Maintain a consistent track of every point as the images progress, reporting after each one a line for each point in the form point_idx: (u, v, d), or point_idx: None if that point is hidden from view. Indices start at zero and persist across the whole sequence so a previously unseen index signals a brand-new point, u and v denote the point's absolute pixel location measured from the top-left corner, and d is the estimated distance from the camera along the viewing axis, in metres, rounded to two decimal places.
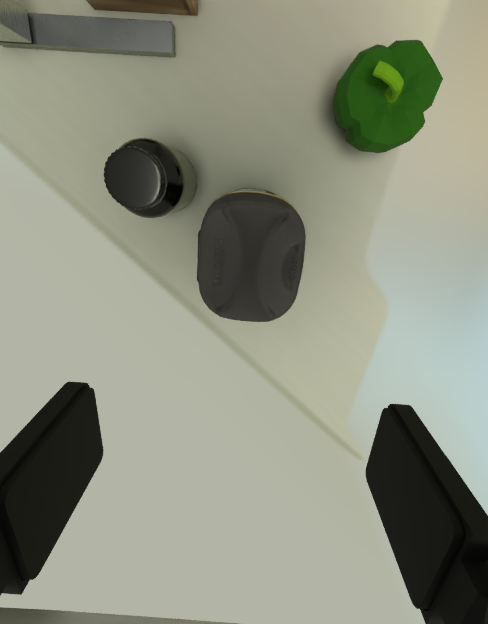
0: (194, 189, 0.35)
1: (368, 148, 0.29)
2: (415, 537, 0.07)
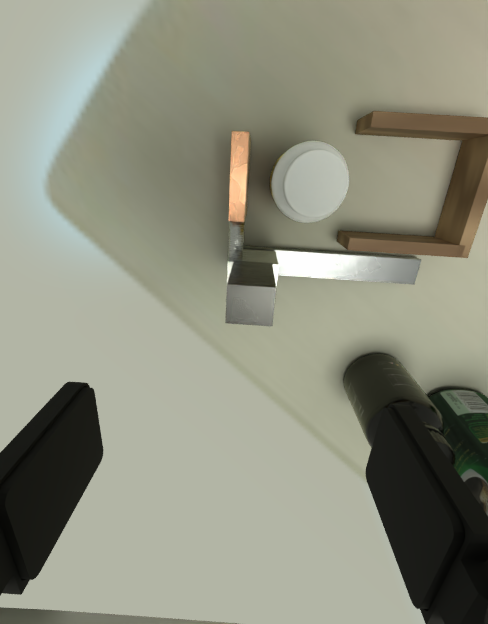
0: None
1: None
2: (415, 537, 0.07)
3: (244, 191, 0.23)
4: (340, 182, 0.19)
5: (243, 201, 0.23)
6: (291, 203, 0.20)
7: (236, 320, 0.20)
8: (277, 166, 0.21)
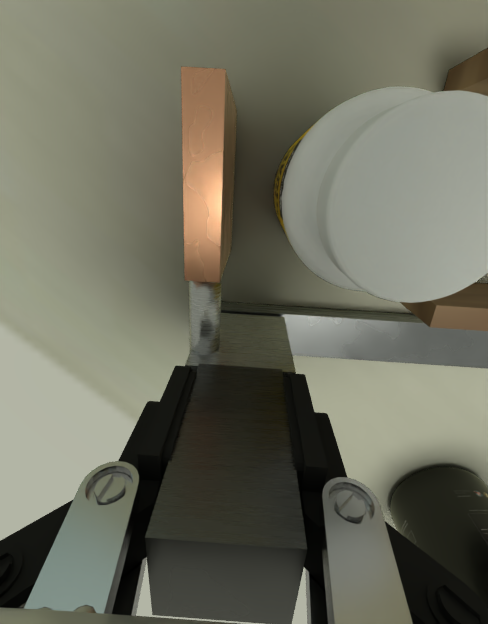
0: None
1: None
2: None
3: (218, 217, 0.10)
4: None
5: (216, 239, 0.10)
6: (347, 263, 0.07)
7: (183, 611, 0.07)
8: (298, 156, 0.08)
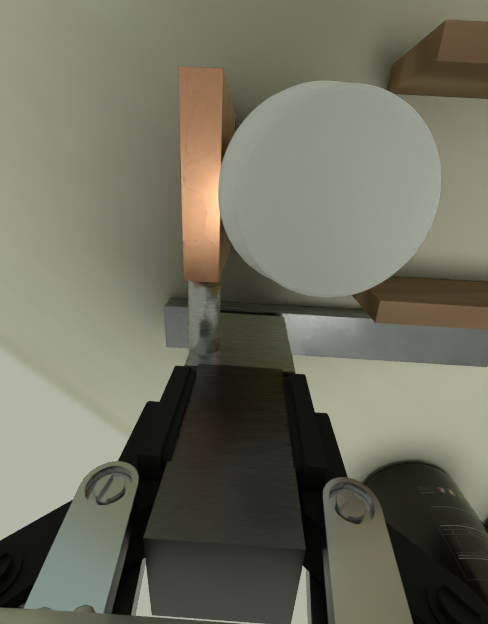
0: None
1: None
2: None
3: (216, 216, 0.10)
4: (413, 195, 0.06)
5: (215, 239, 0.10)
6: (260, 259, 0.07)
7: (182, 612, 0.07)
8: (228, 152, 0.08)
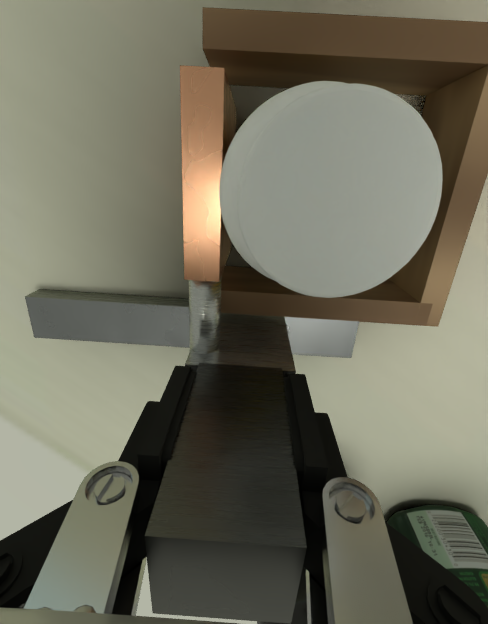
0: None
1: None
2: None
3: (217, 216, 0.10)
4: (414, 196, 0.06)
5: (216, 238, 0.10)
6: (261, 258, 0.07)
7: (183, 610, 0.07)
8: (229, 151, 0.08)
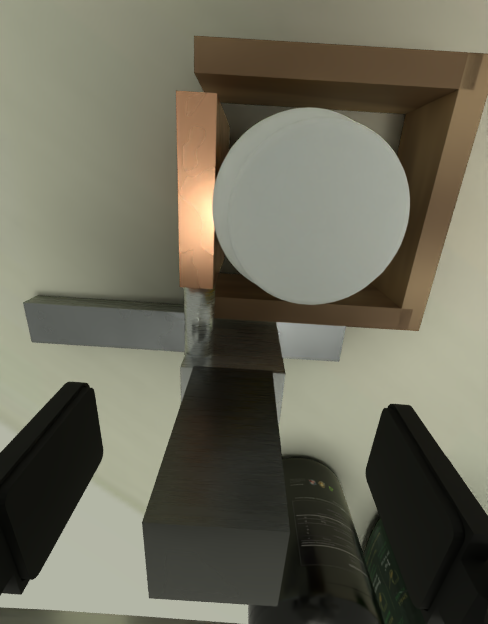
0: None
1: None
2: (415, 537, 0.07)
3: (211, 227, 0.11)
4: (385, 214, 0.07)
5: (209, 248, 0.11)
6: (249, 269, 0.07)
7: (178, 594, 0.07)
8: (221, 169, 0.09)
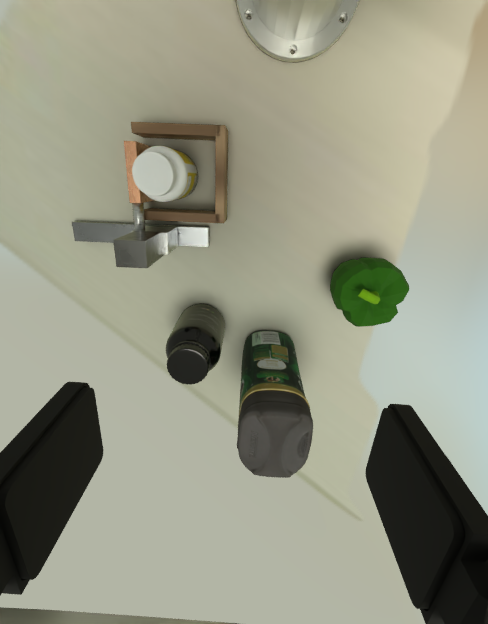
0: None
1: (357, 325, 0.39)
2: (415, 537, 0.07)
3: None
4: (167, 172, 0.30)
5: (138, 188, 0.34)
6: (138, 186, 0.30)
7: (123, 265, 0.30)
8: None
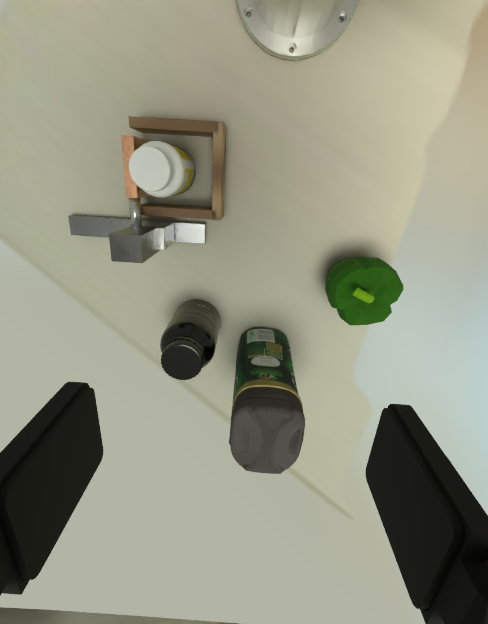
0: None
1: (351, 324, 0.39)
2: (415, 537, 0.07)
3: None
4: (164, 167, 0.30)
5: (135, 183, 0.34)
6: (135, 181, 0.30)
7: (118, 259, 0.31)
8: None
